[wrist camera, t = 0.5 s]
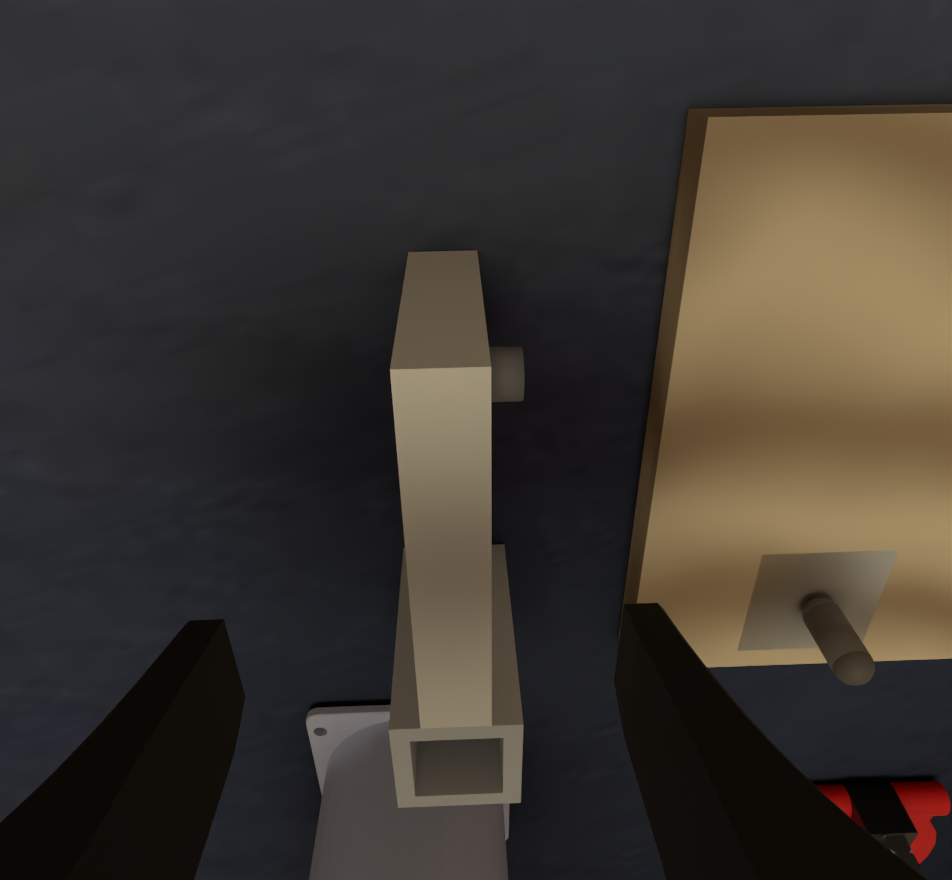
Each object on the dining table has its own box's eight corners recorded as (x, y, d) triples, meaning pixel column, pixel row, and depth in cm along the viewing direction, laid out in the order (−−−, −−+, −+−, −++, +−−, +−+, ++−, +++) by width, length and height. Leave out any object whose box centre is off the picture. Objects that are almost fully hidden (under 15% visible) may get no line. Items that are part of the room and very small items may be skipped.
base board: (934, 626, 27) (1021, 736, 23) (618, 638, 26) (649, 751, 22) (1178, 99, 17) (1400, 128, 13) (688, 108, 17) (763, 140, 13)
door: (503, 616, 26) (520, 802, 20) (409, 620, 25) (397, 807, 20) (507, 249, 19) (536, 365, 13) (377, 252, 18) (344, 370, 12)
